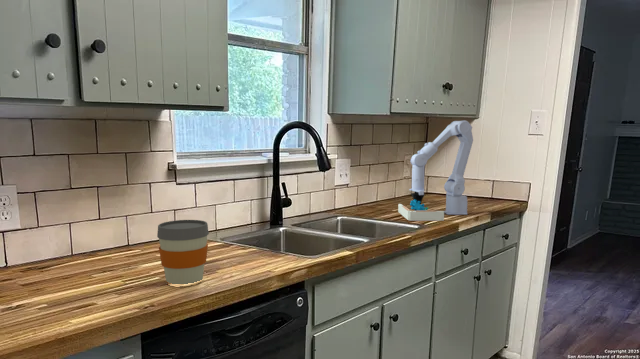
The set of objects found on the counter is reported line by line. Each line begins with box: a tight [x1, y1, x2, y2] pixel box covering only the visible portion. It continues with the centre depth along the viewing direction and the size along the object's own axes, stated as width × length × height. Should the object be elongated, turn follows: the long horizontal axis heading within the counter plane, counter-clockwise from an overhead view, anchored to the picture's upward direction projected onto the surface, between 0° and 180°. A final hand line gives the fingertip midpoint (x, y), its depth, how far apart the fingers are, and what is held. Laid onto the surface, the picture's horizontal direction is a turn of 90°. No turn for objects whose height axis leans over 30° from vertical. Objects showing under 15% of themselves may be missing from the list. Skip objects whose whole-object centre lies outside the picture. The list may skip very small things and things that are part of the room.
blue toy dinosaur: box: [409, 199, 430, 211], centre depth 211 cm, size 11×6×10 cm
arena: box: [397, 203, 445, 222], centre depth 211 cm, size 16×22×4 cm
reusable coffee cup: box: [156, 219, 210, 284], centre depth 117 cm, size 13×12×15 cm
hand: (417, 208), depth 215 cm, fingers closed
